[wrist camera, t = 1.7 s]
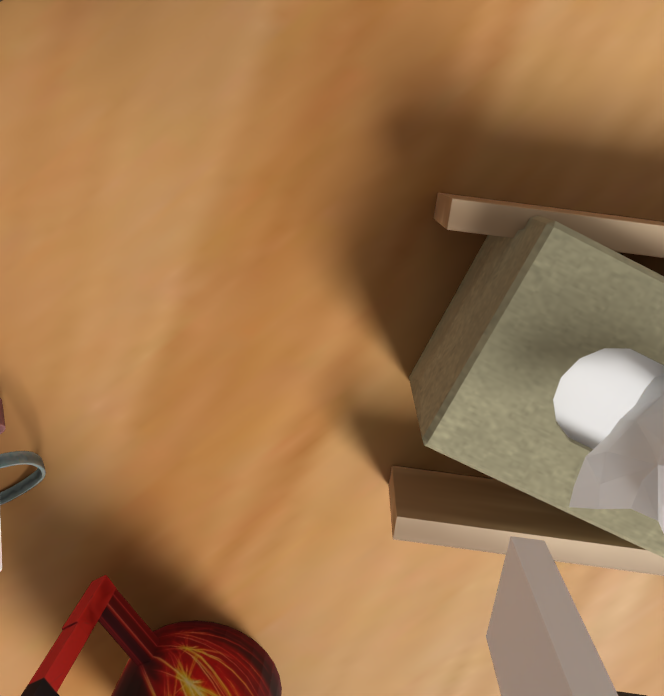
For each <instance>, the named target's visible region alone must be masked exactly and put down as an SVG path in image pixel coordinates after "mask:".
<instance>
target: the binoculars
mask: <svg viewBox="0 0 664 696" xmlns="http://www.w3.org/2000/svg"><path fill="white" fill-rule="evenodd" d="M4 430H5V421H4V413H3V405H2V399H1V398H0V434H1V433H2V432H4ZM21 464H28V465H33V466H36V467H38V468H37V470H36V471H35V472H33V473H32V474H31V475H30V476H28V477H27V478H25V479H24V480H23V481H21V482H19V483H18V484H16V485H14V486H12V487H10V488H9V489H7V490H5V491H3V492H0V505H2V504H4V503H6V502H9V501H11V500H13V499H15V498H16V497H18V496H20V495H22V494H24V493H25V492H27V491H28V490H30V489H31V488H33V487H34V486H36V485H37V484H38V483H40V482H41V481H42V480H43V478H44V477H45V474H46V472H45V468H44V463H43V460H42V458H41V457H40V456H39V455H38V454H36V453H34V452H29V451H16V452H9V453H3V454H0V468H3V467H8V466H13V465H21Z"/></svg>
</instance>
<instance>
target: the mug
mask: <svg viewBox="0 0 664 696" xmlns="http://www.w3.org/2000/svg"><path fill="white" fill-rule="evenodd" d="M98 621H99V622H100V623H101V625H102V626H103V627H104V628H105V629H106V630H107V632H108V633H109V634H110V635H111V636H112V637H113V638H114V640H115V641H116V642H117V643H118V644H119V645H120V647H121V648H122V649H123V650H124V651H125V652H126V654H127V655H128V656H129V659H128V661H127V664H126V666H125V668H124V670H123V672H122V674H121V676H120V678H119V681H118V683H117V685H116V687H115V689H114V691H113V693H112V695H111V696H281V690H282V687H281V682H280V676H279V674H278V671H277V669H276V667H275V664H274V662H273V661H272V660H271V658H270V657H269V655H268V654H267V652H266V651H265V650H264V649H263V648H262V647H261V646H260V645H259V644H257V643H256V642H255V641H254V640H252V639H251V638H249V637H248V636H246V635H245V634H243V633H242V632H240V631H237V630H235V629H233V628H231V627H228V626H225V625H221V624H217V623H214V622H205V621H184V622H178V623H174V624H170V625H166V626H164V627H161V628H159V629H157V630H155V631H153V632H152V630H151V629H150V628H149V627H148V626H147V625H146V623H145V622H144V621H143V620H142V619H141V617H140V616H139V615H138V614H137V613H136V611H135V610H134V609H133V608H132V607H131V606H130V604H129V603H128V602H127V601H126V600H125V598H124V597H123V596H122V595H121V594H120V592H119V591H118V590H117V588H116V587H115V586H114V584H113V583H112V582H111V580H110V579H109V578H108V576H106V575H104V576H102V577H100V578H98V579H96V580H94V581H92V582H91V584H90V586H89V587H88V589H87V590H86V592H85V593H84V595H83V596H82V598H81V599H80V601H79V603H78V604H77V606H76V607H75V609H74V610H73V612H72V613H71V615H70V617H69V618H68V620H67V621H66V623H65V624H64V626H63V627H62V630H63V631H62V632H61V634H60V635H59V637H58V639H57V640H56V642H55V643H54V645H53V646H52V648H51V650H50V651H49V653H48V654H47V656H46V657H45V659H44V660H43V662H42V664H41V665H40V667H39V668H38V670H37V671H36V673H35V675H34V676H33V678H32V679H31V681H30V682H29V684H28V685H27V687H26V689H25V690H24V692H23V693H22V695H21V696H59V695H58V694H57V691H58V689H59V687H60V686H61V684H62V682H63V681H64V679H65V677H66V675H67V674H68V672H69V670H70V668H71V667H72V665H73V663H74V661H75V660H76V658H77V656H78V655H79V653H80V651H81V649H82V648H83V646H84V644H85V642H86V641H87V639H88V637H89V635H90V634H91V632H92V630H93V628H94V627H95V625H96V623H97V622H98Z"/></svg>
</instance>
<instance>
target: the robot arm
mask: <svg viewBox="0 0 664 696" xmlns="http://www.w3.org/2000/svg"><path fill="white" fill-rule="evenodd" d="M0 1H2V0H0ZM1 570H2V550H1V520H0V571H1ZM486 638H487V642H488V646H489V650H490V654H491V658H492V661H493V665H494V669H495V673H496V677H497V681H498V685H499V688H500V692H501V696H646V695H639V694H632V693H625V692H618V691H616V690H615V688H614V686H613V683H612V681H611V679H610V677H609V675H608V673H607V671H606V669H605V667H604V665H603V662H602V660H601V658H600V656H599V654H598V652H597V650H596V648H595V646H594V644H593V642H592V639H591V637H590V635H589V633H588V631H587V629H586V627H585V625H584V623H583V621H582V618H581V616H580V614H579V612H578V610H577V608H576V606H575V604H574V602H573V600H572V597H571V595H570V593H569V591H568V589H567V587H566V585H565V583H564V581H563V579H562V576H561V574H560V572H559V570H558V568H557V566H556V564H555V562H554V560H553V558H552V555H551V553H550V551H549V549H548V547H547V545H546V543H545V541H543V540H536V539H528V538H521V537H514V536H510V540H509V544H508V548H507V552H506V556H505V560H504V565H503V569H502V573H501V577H500V581H499V585H498V589H497V593H496V598H495V602H494V606H493V610H492V614H491V618H490V622H489V626H488V631H487V635H486Z"/></svg>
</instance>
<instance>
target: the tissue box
mask: <svg viewBox="0 0 664 696" xmlns="http://www.w3.org/2000/svg"><path fill="white" fill-rule="evenodd" d="M409 379H410V384H411V389H412V393H413V398H414V403H415V408H416V412H417V417H418V422H419V426H420V431H421V436H422V440H423V443H424V446H427V447H429V448H431V449H433V450H435V451H437V452H439V453H441V454H444V455H446V456H448V457H450V458H452V459H454V460H456V461H459V462H461V463H463V464H465V465H467V466H469V467H471V468H473V469H476V470H478V471H480V472H482V473H484V474H486V475H488V476H490V477H493V478H495V479H497V480H499V481H501V482H503V483H505V484H507V485H510V486H512V487H514V488H516V489H518V490H520V491H522V492H525V493H527V494H529V495H531V496H533V497H535V498H537V499H539V500H542V501H544V502H546V503H548V504H550V505H552V506H554V507H556V508H559V509H561V510H563V511H565V512H567V513H569V514H571V515H573V516H576V517H578V518H580V519H582V520H584V521H586V522H588V523H591V524H593V525H595V526H597V527H599V528H601V529H603V530H605V531H608V532H610V533H612V534H614V535H616V536H618V537H620V538H622V539H625V540H627V541H629V542H631V543H633V544H635V545H637V546H640V547H642V548H644V549H646V550H648V551H650V552H652V553H654V554H657V555H659V556H661V557H663V558H664V276H662V275H660V274H658V273H656V272H654V271H652V270H650V269H648V268H646V267H644V266H642V265H640V264H639V263H637V262H635V261H633V260H631V259H629V258H627V257H625V256H623V255H621V254H619V253H617V252H615V251H613V250H611V249H609V248H607V247H605V246H603V245H601V244H600V243H598V242H596V241H594V240H592V239H590V238H588V237H586V236H584V235H582V234H580V233H578V232H576V231H574V230H572V229H570V228H568V227H566V226H564V225H563V224H561V223H559V222H557V221H554V220H551V219H548V218H545V217H541V216H538V215H537V216H534V217H531V218H530V219H529V221H528V222H527V224H526V226H525V228H524V229H521V230H518V231H517V233H516V235H515V236H514V238H508V237H500V236H493V235H488V236H487V237H486V239H485V241H484V243H483V245H482V246H481V248H480V250H479V252H478V254H477V255H476V257H475V259H474V261H473V263H472V264H471V266H470V268H469V270H468V272H467V273H466V275H465V277H464V279H463V281H462V282H461V284H460V286H459V288H458V290H457V291H456V293H455V295H454V297H453V299H452V300H451V302H450V304H449V306H448V308H447V309H446V311H445V313H444V315H443V317H442V318H441V320H440V322H439V324H438V326H437V327H436V329H435V331H434V333H433V335H432V336H431V338H430V340H429V342H428V344H427V346H426V347H425V349H424V351H423V353H422V355H421V356H420V358H419V360H418V362H417V364H416V365H415V367H414V369H413V371H412V373H411V374H410V376H409Z"/></svg>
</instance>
